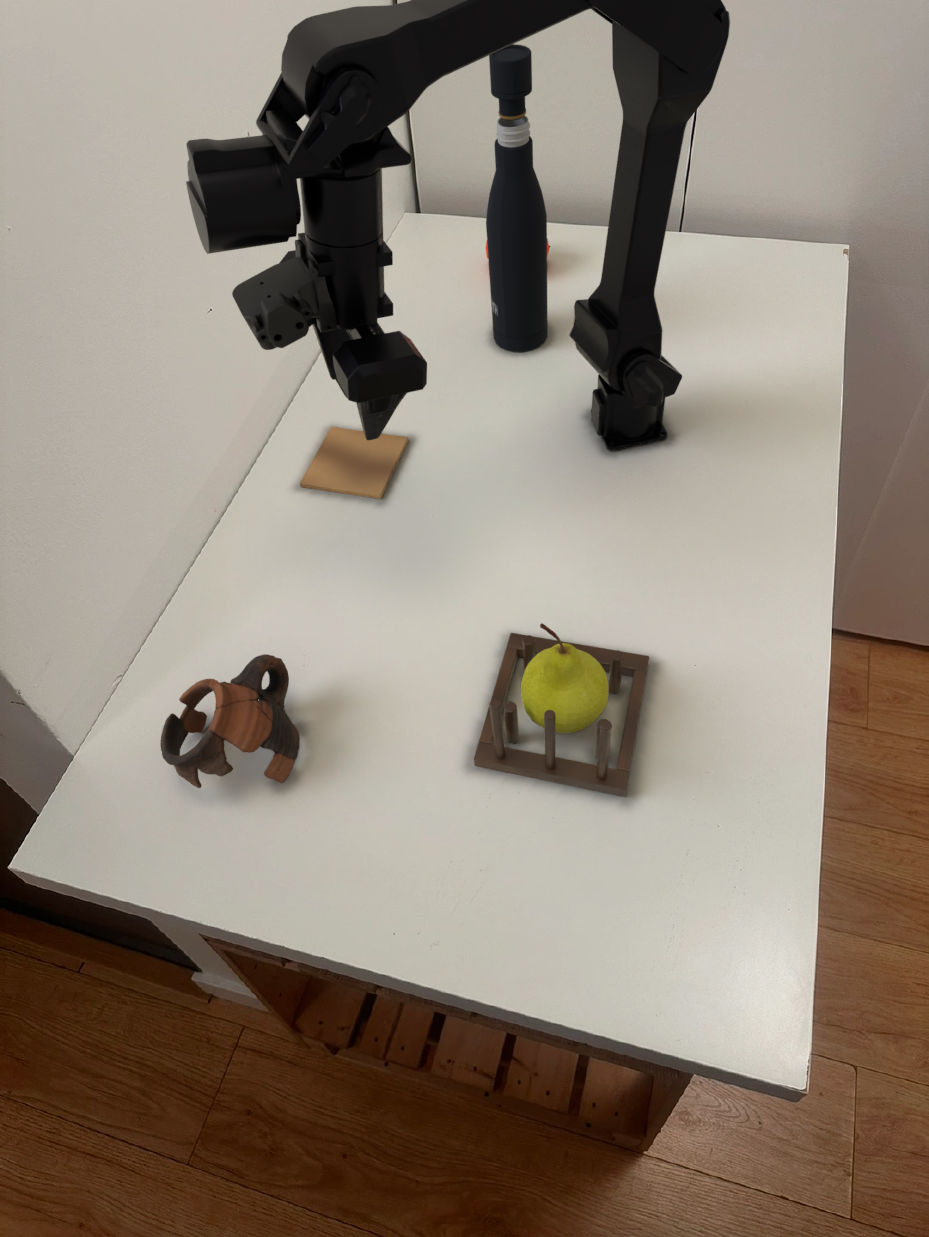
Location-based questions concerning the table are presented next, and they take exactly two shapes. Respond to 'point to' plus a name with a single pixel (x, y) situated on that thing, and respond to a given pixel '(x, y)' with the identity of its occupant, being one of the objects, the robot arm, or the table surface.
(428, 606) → the table surface
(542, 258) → the black bottle
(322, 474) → the mat
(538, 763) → the rack
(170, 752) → the broken clay pot
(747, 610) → the table surface
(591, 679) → the fruit
